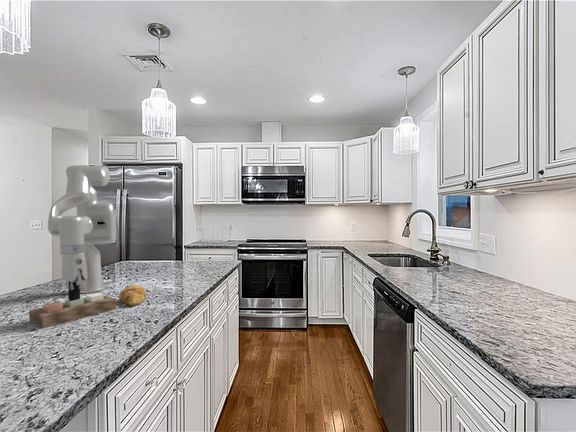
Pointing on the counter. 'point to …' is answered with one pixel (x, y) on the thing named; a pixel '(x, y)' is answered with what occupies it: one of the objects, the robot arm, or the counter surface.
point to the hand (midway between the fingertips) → (74, 299)
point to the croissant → (132, 295)
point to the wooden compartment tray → (71, 312)
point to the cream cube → (94, 297)
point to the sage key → (74, 302)
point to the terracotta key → (52, 307)
